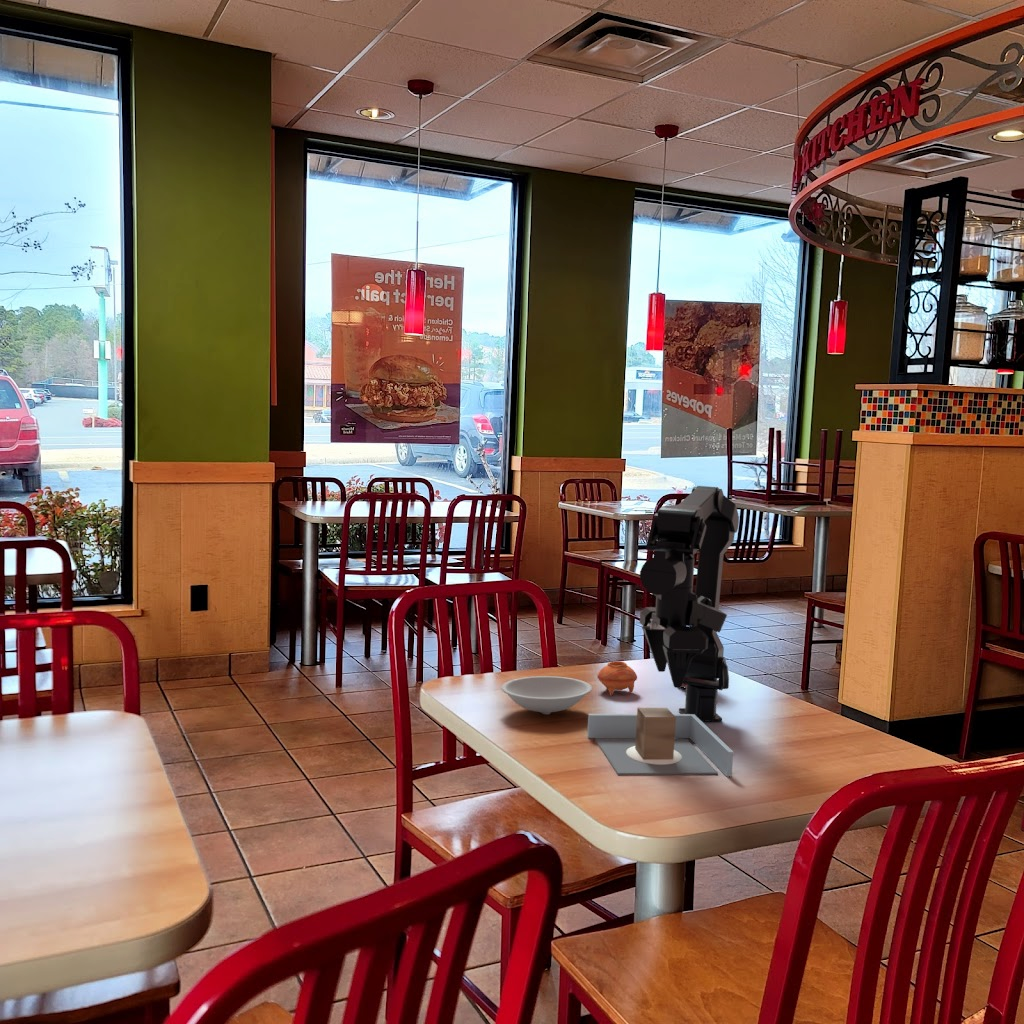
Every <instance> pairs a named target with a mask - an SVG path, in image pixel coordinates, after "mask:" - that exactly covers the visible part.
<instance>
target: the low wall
mask: <svg viewBox="0 0 1024 1024" xmlns="http://www.w3.org/2000/svg"><path fill="white" fill-rule="evenodd" d="M672 714H673V715H674V716H675V717H676V724H675V738H686V739H690V740H691V741H692V742H693V743H694V744H695V745H696V746H697V747H698V748H699V750H700V751H701V752H702V753H704V754H705V756H707V758H708V759H709V760H710V761H711V762H712V763H713V764H714V765H715V767H717V768H718V769H719V770H720V771H721V773H723V775H724V776H725V777H726V776H727V778H732V777H733V762H734V751H733V750H732V749H731V748H730V747H729V746H728V745H727V744H726V743H725V742H724V741H723V740H722V739H720V737H719V736H718V735H716V733H714V732H713V731H712V730H711V728H709V727H708V726H707V724H705V722H704V721H701V720H700V719H699V718H698V717H697V716H696V715H695V714H681V713H672ZM636 726H637V713H588V714H587V727H586V728H587V733H586V738H587V739H595V738H636ZM729 776H730V777H729ZM731 776H732V777H731Z"/></svg>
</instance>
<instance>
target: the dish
mask: <svg viewBox="0 0 1024 1024" xmlns="http://www.w3.org/2000/svg"><path fill="white" fill-rule="evenodd" d="M592 690H593V687H592V685H591V684H590V683H588V682H586V681H583V680H581V679H578V678H577V679H576V678H572V677H565V676H554V675H553V676H552V675H549V676H548V675H545V676H544V675H541V676H540V675H539V676H538V675H537V676H536V675H535V676H526V677H519V678H515V679H511V680H508V681H506V682H504V683H503V684H502V685H501V691H502V692H503V693H504V694H506V695H508V697H509V699H511V700H512V701H513V702H514V703H515V704H517V705H518V706H519V707H521V708H523V709H525V710H527V711H528V710H529V711H532V712H539V713H541V714H542V715H550V714H551V713H556V712H560V711H564V710H565V711H566V710H567V709H570V708H571V707H573V706H575V705H577V704H578V703H579V702H580V701H582V700H583V699H584V698H585V696H586V695H588V694H590V693H591V692H592Z"/></svg>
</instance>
